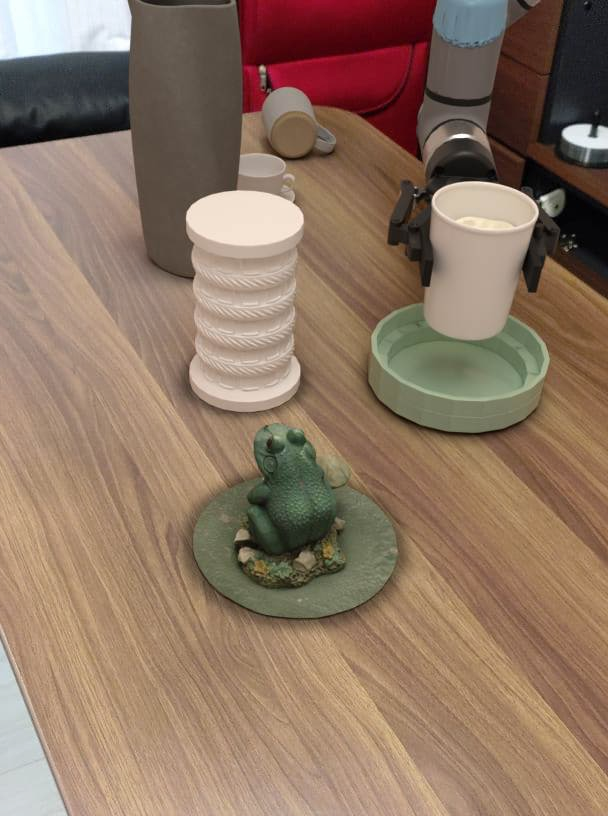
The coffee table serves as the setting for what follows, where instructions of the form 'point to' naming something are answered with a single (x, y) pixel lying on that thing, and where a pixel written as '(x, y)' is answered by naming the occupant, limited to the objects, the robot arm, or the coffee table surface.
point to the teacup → (264, 175)
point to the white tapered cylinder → (476, 257)
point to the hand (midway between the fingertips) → (481, 276)
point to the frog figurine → (295, 534)
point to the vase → (183, 115)
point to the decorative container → (244, 299)
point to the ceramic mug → (293, 124)
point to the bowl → (456, 373)
